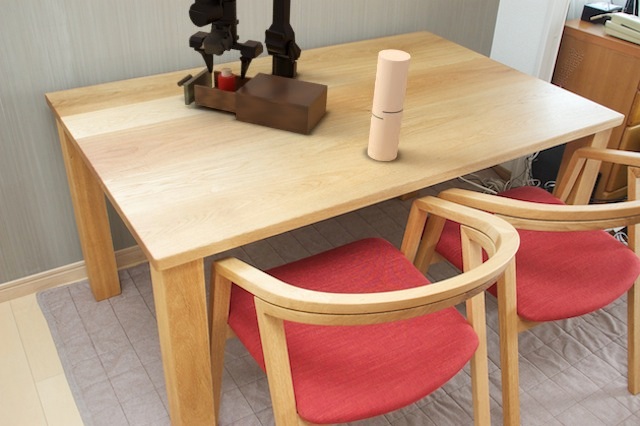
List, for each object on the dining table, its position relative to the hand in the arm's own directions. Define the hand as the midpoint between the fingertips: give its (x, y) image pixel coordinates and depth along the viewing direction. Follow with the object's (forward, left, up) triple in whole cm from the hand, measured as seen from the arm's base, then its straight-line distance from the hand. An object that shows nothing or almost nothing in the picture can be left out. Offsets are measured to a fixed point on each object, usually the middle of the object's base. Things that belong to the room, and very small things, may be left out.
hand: (226, 75), depth 174 cm
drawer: (-2, 0, -7) cm, 8 cm away
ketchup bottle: (0, 0, -6) cm, 6 cm away
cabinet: (+16, 0, -8) cm, 18 cm away
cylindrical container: (+46, -9, -8) cm, 48 cm away
